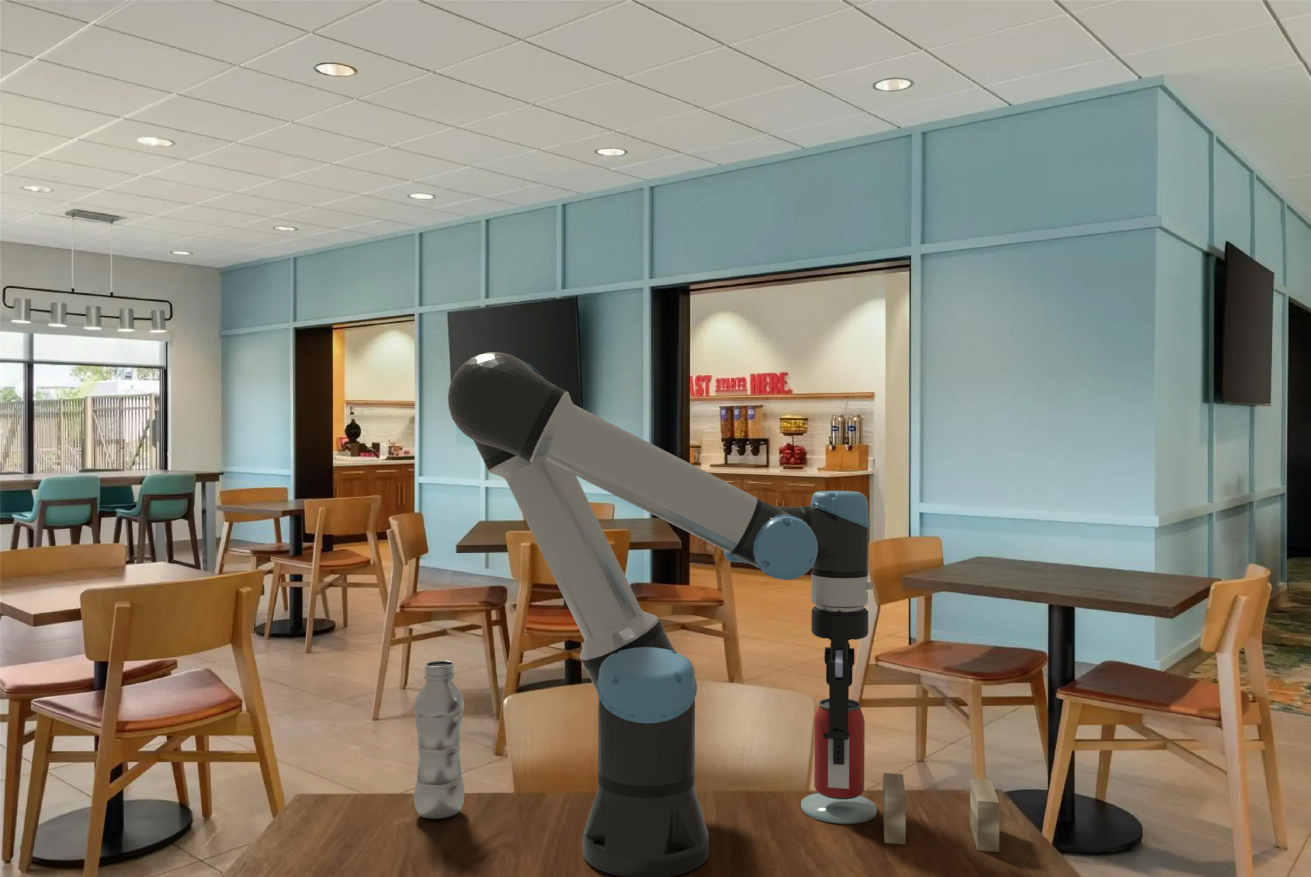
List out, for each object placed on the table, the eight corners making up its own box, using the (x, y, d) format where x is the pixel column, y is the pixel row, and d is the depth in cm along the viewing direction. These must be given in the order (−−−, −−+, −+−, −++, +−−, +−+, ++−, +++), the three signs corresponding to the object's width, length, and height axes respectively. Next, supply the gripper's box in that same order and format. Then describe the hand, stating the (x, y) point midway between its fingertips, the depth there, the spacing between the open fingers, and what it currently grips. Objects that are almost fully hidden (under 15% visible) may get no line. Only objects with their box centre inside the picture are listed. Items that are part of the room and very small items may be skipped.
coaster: (799, 820, 133) (799, 816, 133) (802, 794, 142) (803, 789, 142) (877, 826, 131) (877, 822, 131) (876, 799, 141) (876, 794, 141)
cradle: (884, 842, 126) (884, 794, 126) (882, 818, 134) (883, 773, 134) (998, 852, 123) (999, 802, 123) (990, 826, 131) (990, 780, 131)
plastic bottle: (475, 812, 135) (475, 661, 135) (438, 829, 129) (439, 671, 129) (439, 802, 138) (440, 655, 138) (402, 818, 133) (403, 665, 133)
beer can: (864, 803, 133) (864, 711, 133) (813, 799, 134) (813, 708, 134) (864, 785, 139) (864, 698, 139) (815, 782, 140) (815, 695, 140)
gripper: (869, 620, 126) (868, 806, 126) (867, 595, 145) (866, 756, 145) (808, 618, 128) (807, 801, 128) (814, 594, 147) (813, 753, 147)
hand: (838, 777), depth 137 cm, fingers closed on beer can, 7 cm apart
